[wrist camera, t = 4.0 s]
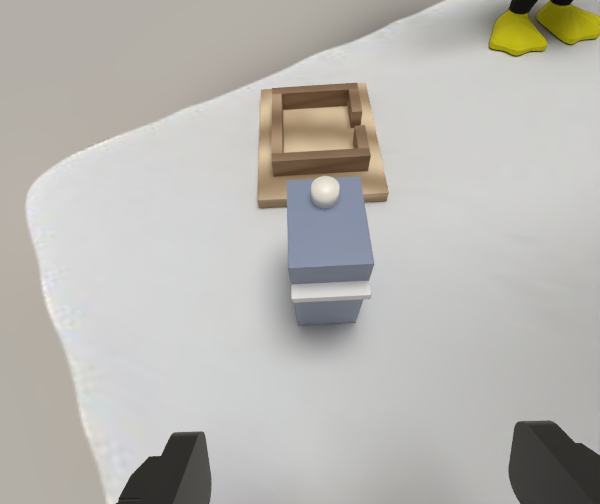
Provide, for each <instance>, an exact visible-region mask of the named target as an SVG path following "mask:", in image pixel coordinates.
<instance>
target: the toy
mask: <svg viewBox="0 0 600 504" xmlns="http://www.w3.org/2000/svg"><path fill="white" fill-rule="evenodd" d="M537 1H538V0H512V1H511V4H510V7H509V9H508V10H507V11H506V12H505V13H504V14H502V15H501V16H500V17H499V18H498V19H497V21H496V23H495V25H494V28H493V32H492V35H491V39H490V42H489V46H490V48H492V49H495V50H502V51H505V52H508V53H510V54H512V55H516V56H517V55H521V54H523V53H526V52H529V51H543V50H545V48H546V47H547V45H548V43H547V41H546V39H545V38H544V37H543V36H542V35H541V34H540V33H539V31H538V30H537V29H536V27H535V26H534V24H533V23H532V22H531V20H530V19H529V16H528V13H529V11H530V10H531V8H532V7H533V6H534V4H535V3H536V2H537ZM572 1H573V0H550V1H549V2H548V3H547V4H546V5H545V6H544V7H543V8H542V9H541V10H540V11H539V12H538V14H537V20H538V21H539V22H540V23H541V24H542V25H543V26H545V27H546V28H547V29H548V30H549V31H550V32H552V33H553V34H554V35H555V36H556V37H558V38H559V39H560V40H562V41H563V42H565V43H568V44H575V43H576V42H578V41H580V40H585V39H595V38H598V37H599V35H600V27H599V26H600V16H598V15H595V14H592V13H589V12H587V11H584V10H582V9H580V8H578V7H575V6H573V5H571V2H572Z"/></svg>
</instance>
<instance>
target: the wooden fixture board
mask: <svg viewBox="0 0 600 504" xmlns="http://www.w3.org/2000/svg"><path fill="white" fill-rule="evenodd" d="M322 176H329V177H332V178H341V177H358V176H360V179H361V185H362V191H363V197H364V202H377V201H386V200H387V196H388V188H387V183H386V178H385V173H384V169H383V164H382V159H381V154H380V150H379V145H378V140H377V135H376V130H375V126H374V121H373V116H372V111H371V106H370V102H369V97H368V92H367V87H366V83H358V84H357V83H345V84H330V85H314V86H299V87H284V88H272V89H265V90H261V110H260V141H259V172H258V204H259V208H272V207H287V181H290V180H307V179H317V178H318V177H322Z"/></svg>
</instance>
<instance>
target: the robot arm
mask: <svg viewBox="0 0 600 504" xmlns="http://www.w3.org/2000/svg"><path fill="white" fill-rule="evenodd" d="M509 478H510V482H511V486H512V488H513V491H514V493H515V495H516V497H517V499H518V500H519V502H520V504H600V455H598V454H597V453H595V452H594V451H592V450H591V449H589V448H588V447H586V446H585V445H583V444H582V443H575V442H574V441H573V440H572V439H571V438H570V437H569V436H568V435H567V434H566V433H565V432H564V431H563V430H562V429H561V428H560V427H559V426H558V425H557V424H556V423H554V422H552V421H549V420H548V421H520V422H517V423H516V425H515V428H514V434H513V441H512V448H511V455H510V462H509ZM210 496H211V472H210V465H209V458H208V452H207V445H206V438H205V434H204V432H175V433H173V434H172V435H171V436H170V438H169V440H168V442H167V445H166V447H165V449H164V451H163V453H162V455H161V456H153V457H149V458H148V459H147V460H146V461H145V462H144V463H143V464H142V465H141V466H140V467H139V468H138V469H137V470H136V471H135V472H134V473H133V474H132V475H131V477H130V478H129V480H128V482H127V484H126V486H125V488H124V490H123V491H122V493H121V495H120V497H119V501H118V503H116V504H209V502H210Z"/></svg>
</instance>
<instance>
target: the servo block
mask: <svg viewBox="0 0 600 504" xmlns="http://www.w3.org/2000/svg"><path fill="white" fill-rule="evenodd" d="M287 225H288V269H289V275H290V281H291V298H292V303H294V304H295V310H296V316H297V322H298V325H315V324H335V323H356V320H357V317H358V313H359V310H360V307H361V304H362V301H363V299H370V297H371V291H370V284H369V279H370V275H371V272H372V269H373V266H374V259H373V253H372V247H371V241H370V235H369V228H368V222H367V216H366V210H365V203H364V197H363V191H362V185H361V179H360V176H358V177H341V178H332V177H329V176H322V177H318V178H317V179H307V180H290V181H287Z"/></svg>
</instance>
